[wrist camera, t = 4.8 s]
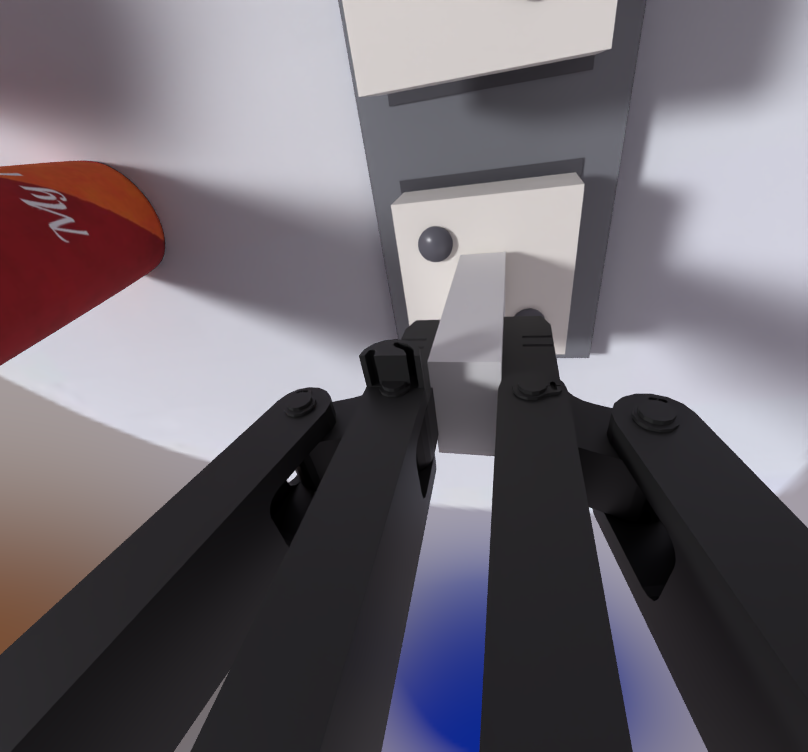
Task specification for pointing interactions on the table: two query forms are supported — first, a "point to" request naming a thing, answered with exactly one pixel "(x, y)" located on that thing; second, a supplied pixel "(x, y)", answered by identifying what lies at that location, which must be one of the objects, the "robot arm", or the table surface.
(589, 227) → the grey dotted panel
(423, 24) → the tile
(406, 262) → the tile
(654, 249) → the table surface
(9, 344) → the paper cup
